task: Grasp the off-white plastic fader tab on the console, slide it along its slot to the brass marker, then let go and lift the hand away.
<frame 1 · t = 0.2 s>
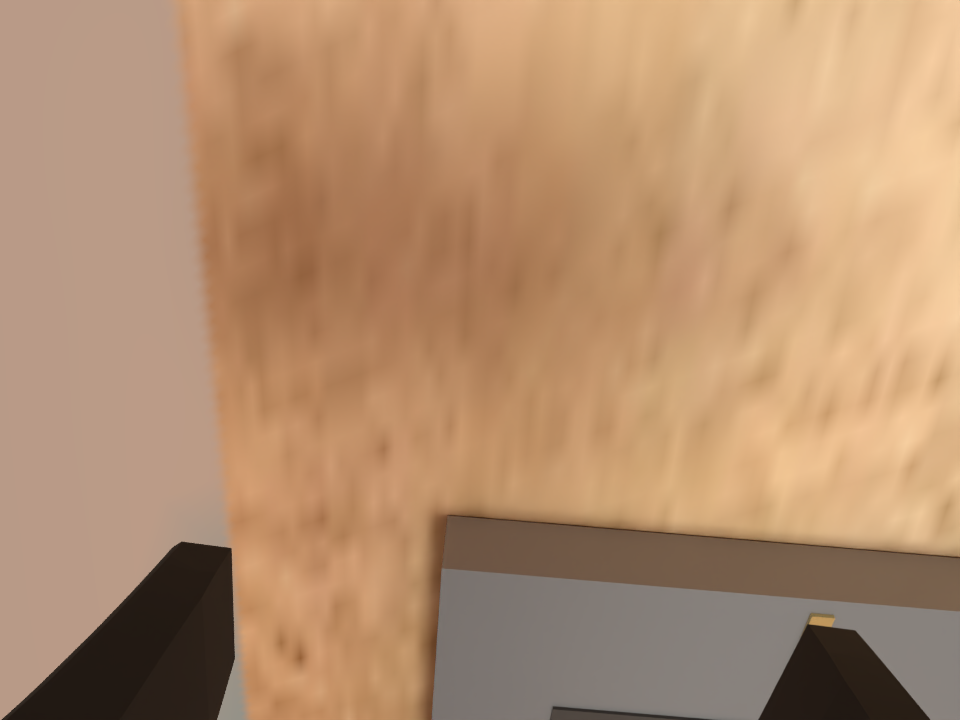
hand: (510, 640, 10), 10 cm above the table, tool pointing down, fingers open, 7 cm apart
fader console: (845, 691, 25), on the table
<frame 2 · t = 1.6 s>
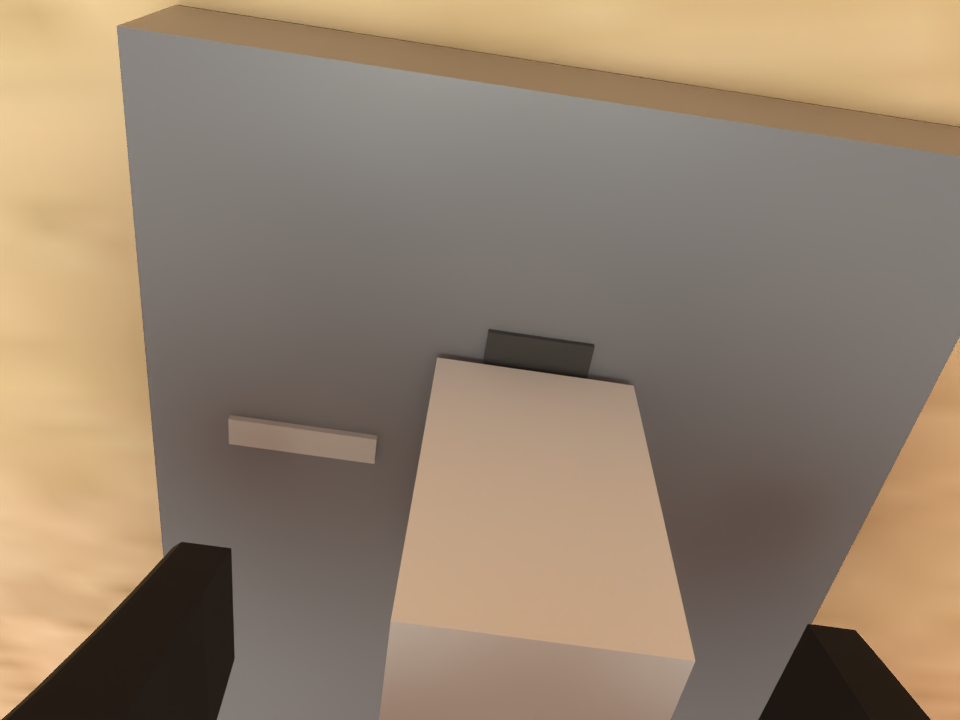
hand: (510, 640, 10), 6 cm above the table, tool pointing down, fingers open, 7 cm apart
fader console: (466, 648, 19), on the table
fader tab: (513, 590, 11), point 5 cm above the table, slide at 0.0 cm
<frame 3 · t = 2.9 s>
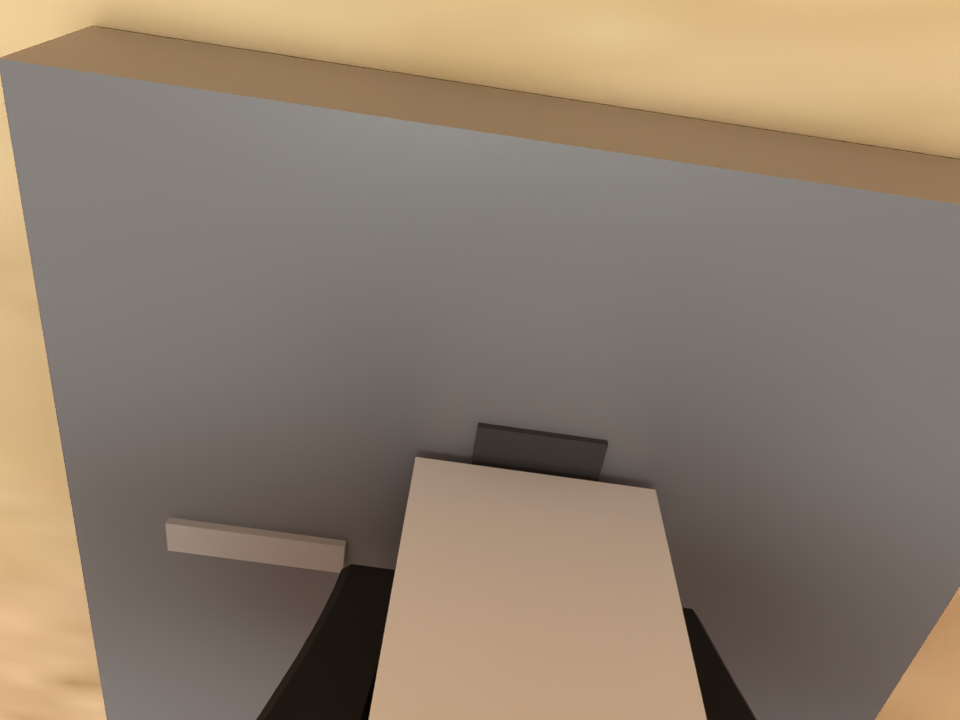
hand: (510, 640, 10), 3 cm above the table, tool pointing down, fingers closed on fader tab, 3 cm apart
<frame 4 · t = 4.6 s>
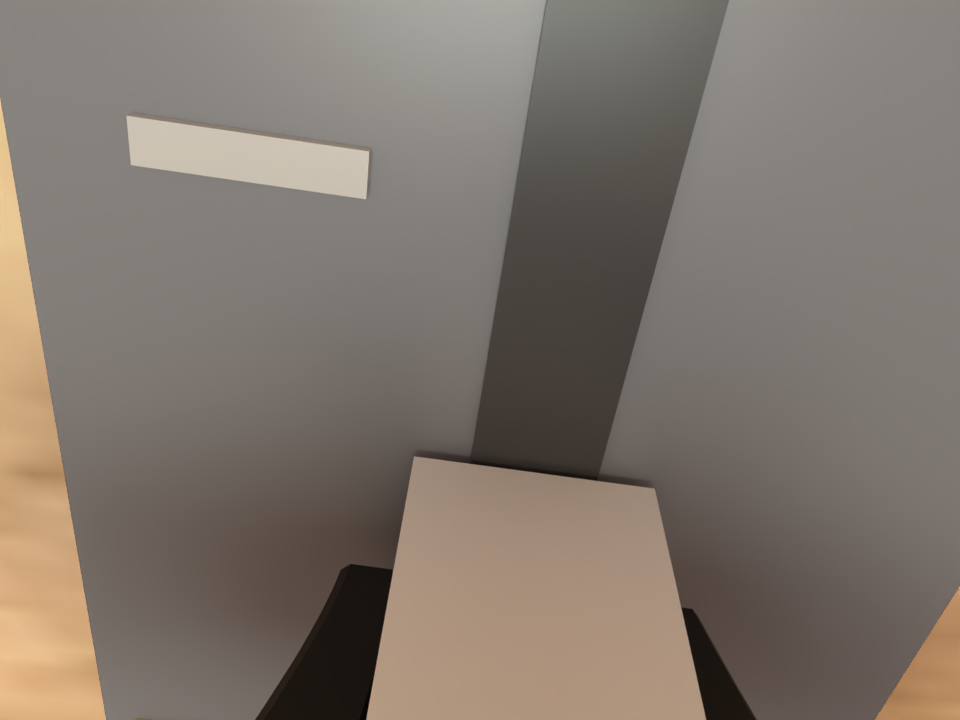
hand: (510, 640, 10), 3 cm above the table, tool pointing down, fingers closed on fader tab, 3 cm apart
fader console: (496, 553, 14), on the table
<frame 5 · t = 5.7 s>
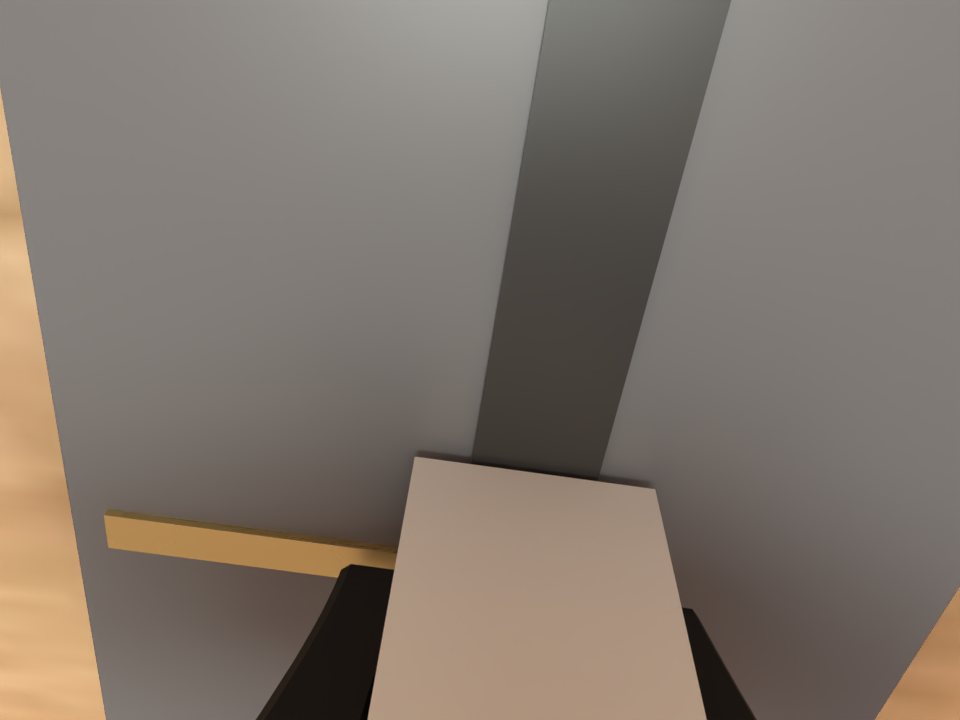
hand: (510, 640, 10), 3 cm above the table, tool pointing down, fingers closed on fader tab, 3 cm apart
fader console: (544, 320, 11), on the table
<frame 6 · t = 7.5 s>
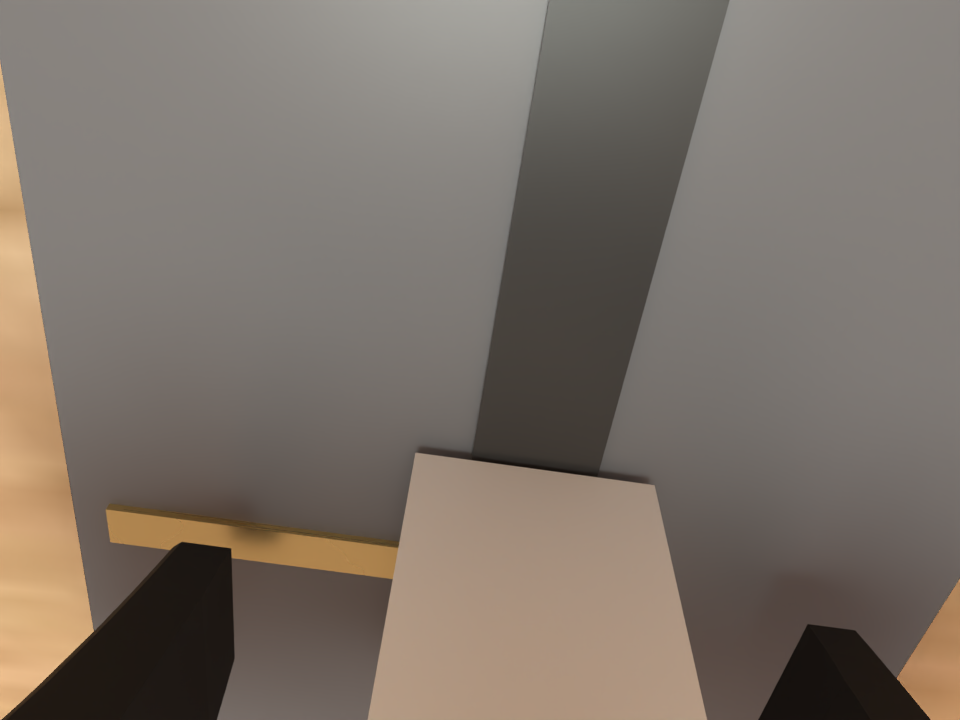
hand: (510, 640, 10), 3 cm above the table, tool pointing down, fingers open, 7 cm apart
fader console: (544, 316, 11), on the table
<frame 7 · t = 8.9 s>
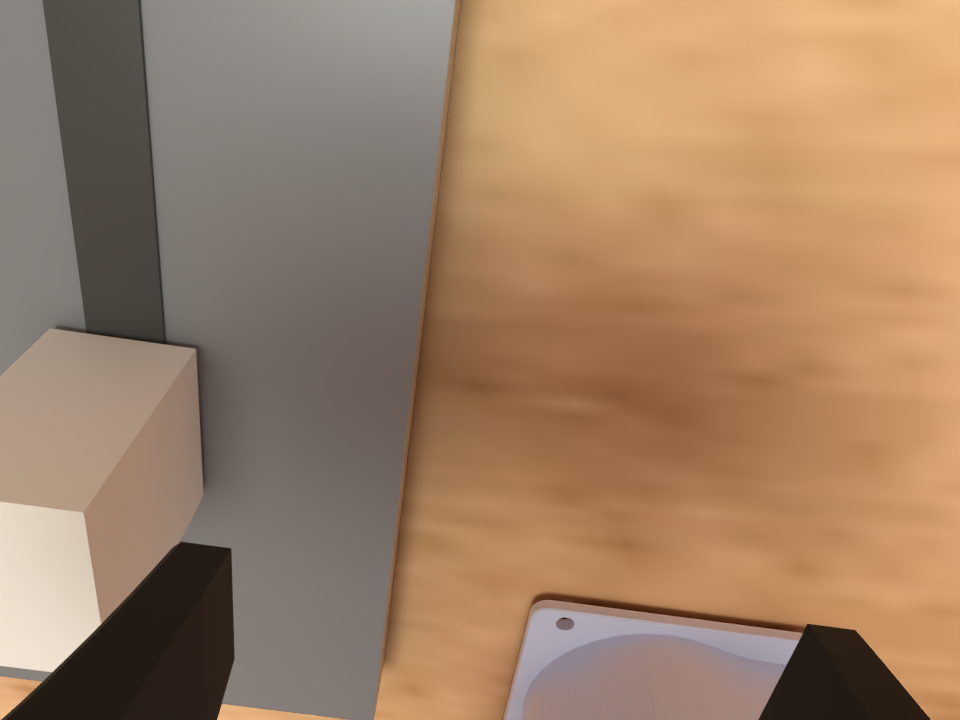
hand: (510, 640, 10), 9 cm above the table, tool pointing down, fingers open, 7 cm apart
fader console: (160, 252, 18), on the table
fader tab: (77, 491, 15), point 5 cm above the table, slide at 10.0 cm
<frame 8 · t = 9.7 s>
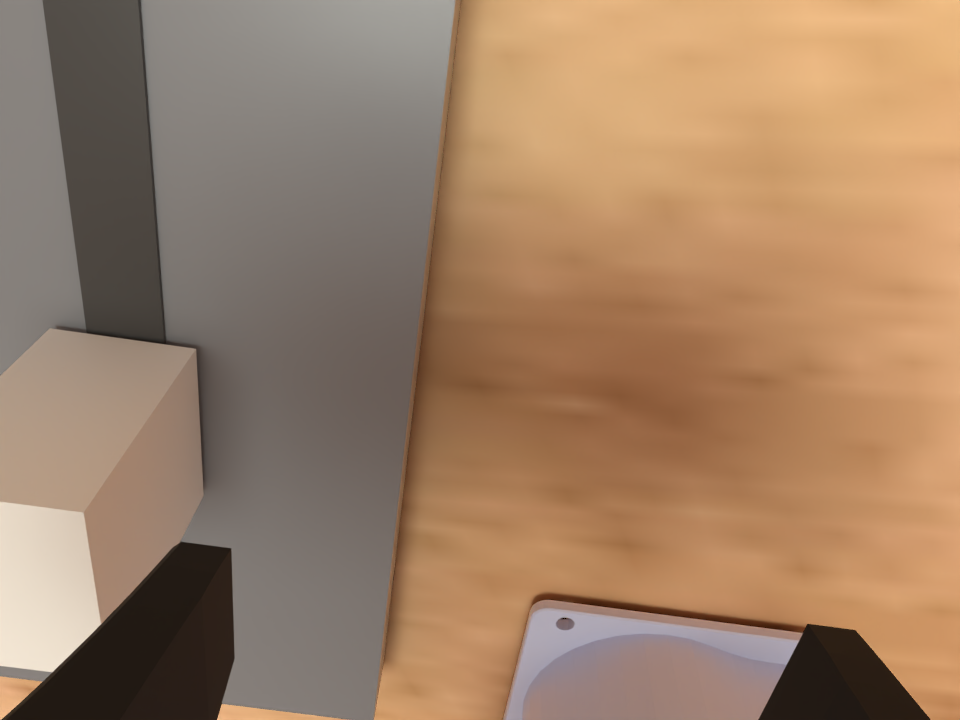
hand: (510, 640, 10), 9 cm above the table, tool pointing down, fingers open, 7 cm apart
fader console: (160, 252, 18), on the table
fader tab: (77, 491, 15), point 5 cm above the table, slide at 10.0 cm
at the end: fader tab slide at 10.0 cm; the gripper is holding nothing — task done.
